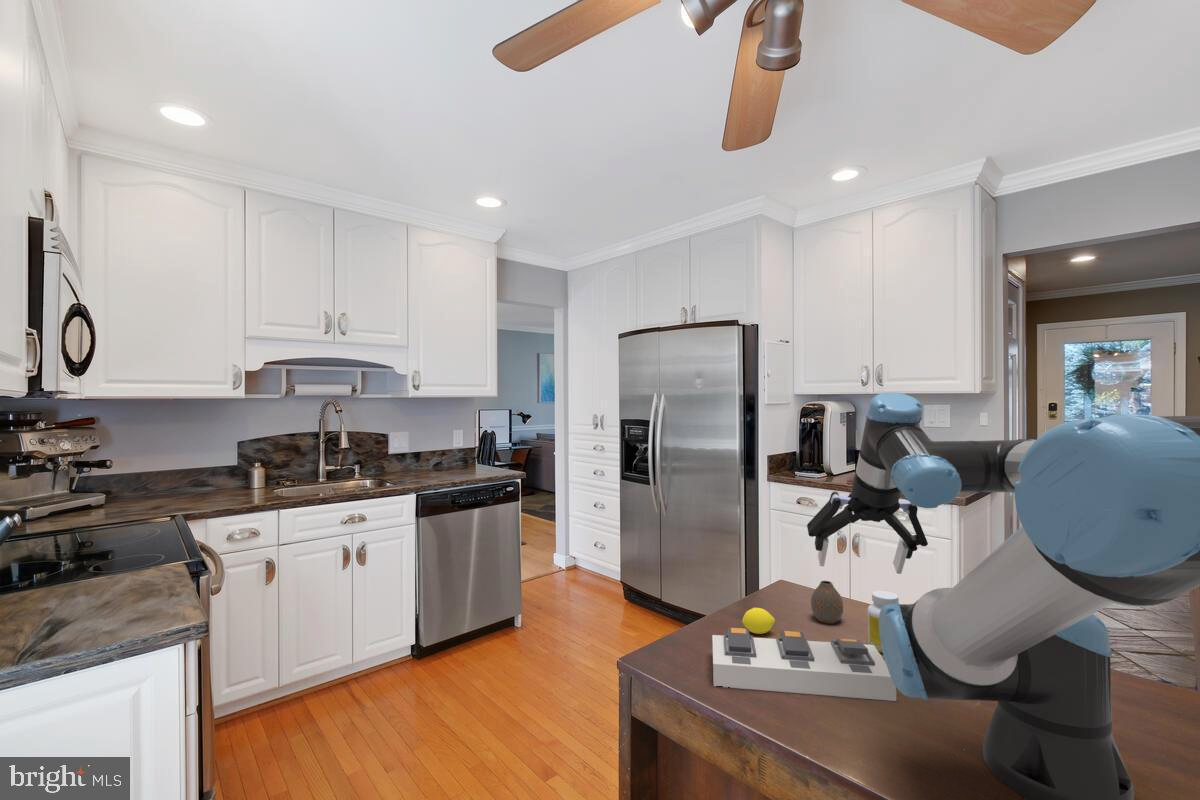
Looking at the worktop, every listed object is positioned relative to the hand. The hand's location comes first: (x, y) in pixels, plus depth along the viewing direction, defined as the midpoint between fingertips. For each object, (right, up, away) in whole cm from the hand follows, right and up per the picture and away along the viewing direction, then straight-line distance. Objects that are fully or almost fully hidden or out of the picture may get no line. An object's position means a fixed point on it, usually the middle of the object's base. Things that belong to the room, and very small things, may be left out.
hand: (858, 564), depth 102 cm
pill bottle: (+7, -19, +4) cm, 21 cm away
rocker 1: (-23, -14, -1) cm, 27 cm away
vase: (+2, -19, +20) cm, 28 cm away
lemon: (-15, -20, +14) cm, 28 cm away
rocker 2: (-4, -14, -5) cm, 15 cm away
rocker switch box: (-8, -19, -6) cm, 21 cm away
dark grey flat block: (-13, -14, -3) cm, 20 cm away
